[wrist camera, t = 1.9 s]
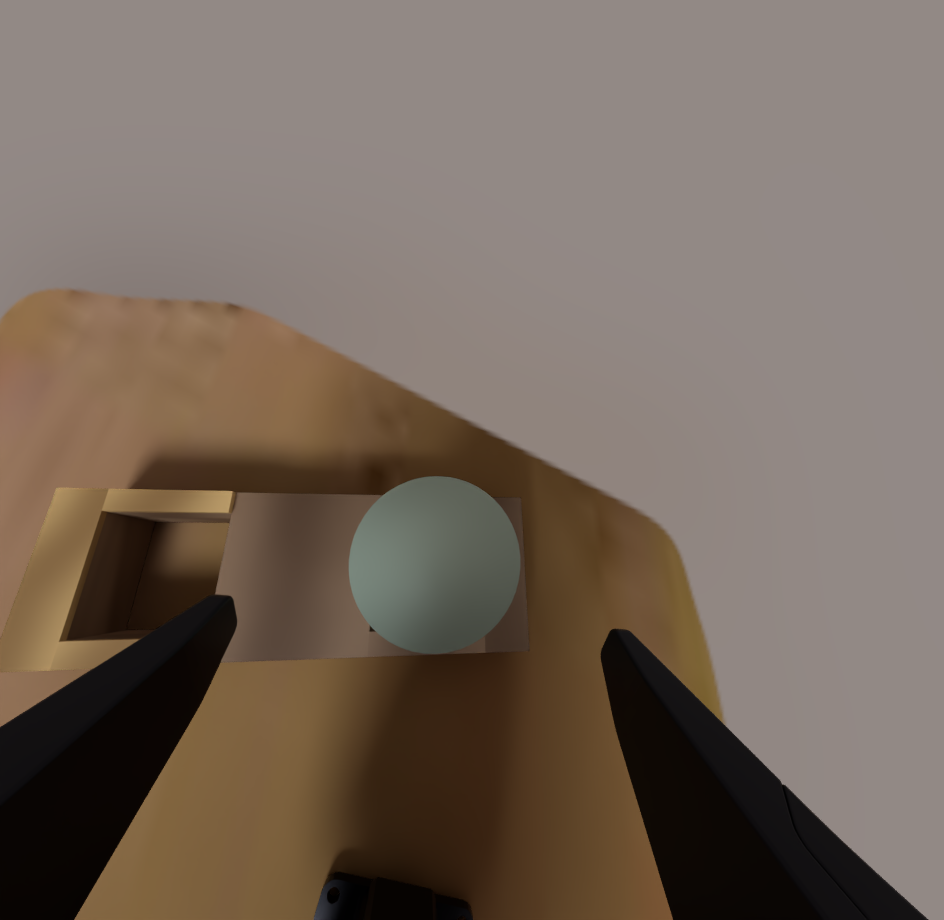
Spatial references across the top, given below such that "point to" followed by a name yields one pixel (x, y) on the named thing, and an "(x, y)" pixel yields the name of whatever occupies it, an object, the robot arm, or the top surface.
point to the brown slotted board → (241, 576)
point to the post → (434, 565)
